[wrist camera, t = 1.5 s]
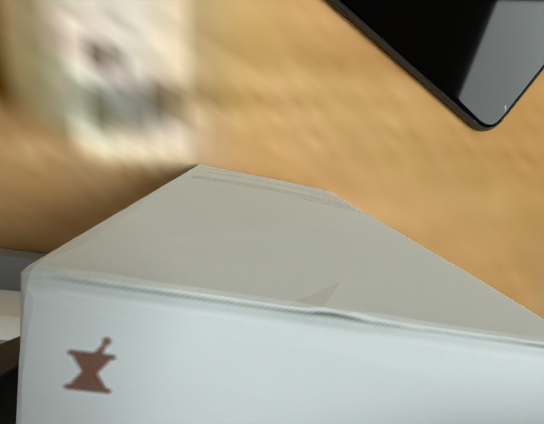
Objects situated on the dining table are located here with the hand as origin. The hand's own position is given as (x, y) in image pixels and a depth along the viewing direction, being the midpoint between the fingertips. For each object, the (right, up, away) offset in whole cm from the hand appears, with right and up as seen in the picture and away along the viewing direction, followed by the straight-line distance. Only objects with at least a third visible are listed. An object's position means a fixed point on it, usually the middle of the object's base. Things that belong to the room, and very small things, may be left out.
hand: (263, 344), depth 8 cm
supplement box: (-1, +2, +8) cm, 8 cm away
